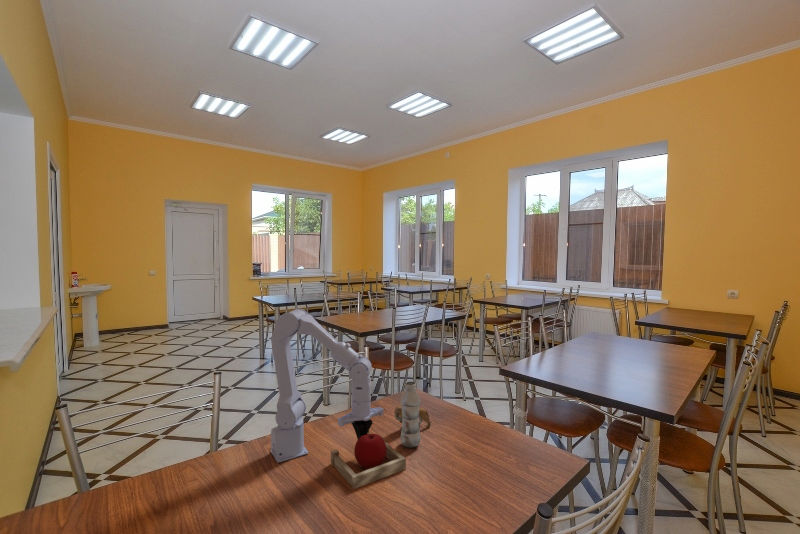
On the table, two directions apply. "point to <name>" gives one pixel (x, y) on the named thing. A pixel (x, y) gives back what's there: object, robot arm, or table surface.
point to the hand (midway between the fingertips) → (361, 443)
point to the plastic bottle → (410, 416)
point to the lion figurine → (421, 415)
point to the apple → (370, 450)
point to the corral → (371, 474)
